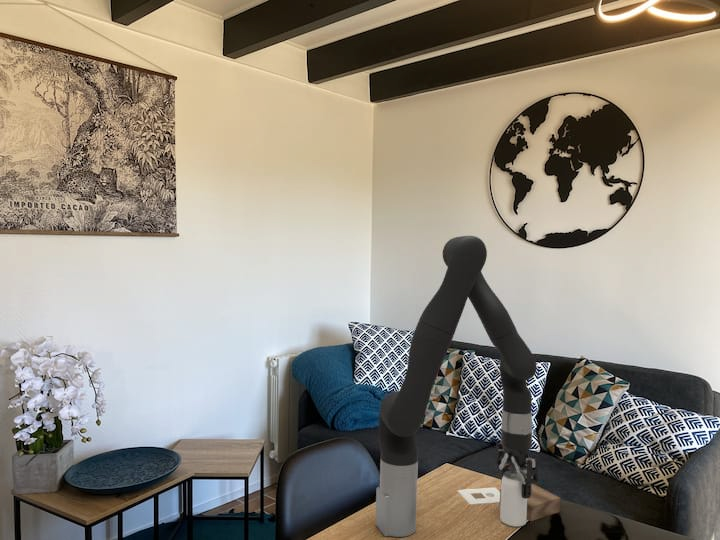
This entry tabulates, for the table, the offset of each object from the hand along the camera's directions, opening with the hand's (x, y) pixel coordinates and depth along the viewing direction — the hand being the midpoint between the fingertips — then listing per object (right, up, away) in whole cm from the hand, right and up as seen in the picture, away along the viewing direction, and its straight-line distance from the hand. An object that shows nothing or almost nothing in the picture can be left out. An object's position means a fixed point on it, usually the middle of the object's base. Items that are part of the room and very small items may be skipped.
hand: (515, 490), depth 139 cm
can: (-1, -8, 0) cm, 8 cm away
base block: (+6, -8, +8) cm, 13 cm away
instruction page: (-5, -7, +14) cm, 17 cm away
